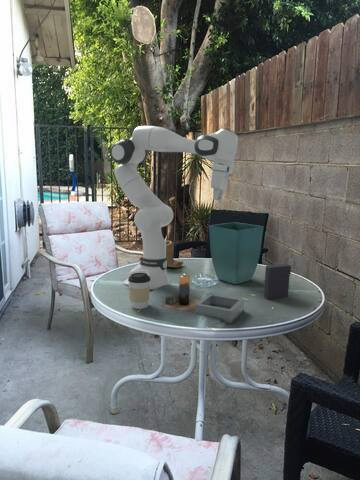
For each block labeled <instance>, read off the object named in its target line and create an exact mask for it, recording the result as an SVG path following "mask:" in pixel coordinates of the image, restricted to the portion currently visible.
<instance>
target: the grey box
mask: <svg viewBox="0 0 360 480" xmlns="http://www.w3.org/2000/svg"><path fill="white" fill-rule="evenodd" d="M291 269H292V265H289V264H287V263H282V264H269V265H266V266H265V274H264V276H265V277H264V291H263V292H264V295H263V298H264V299H266V300H267V301H269V300H277V299H285V298H289V290H290V289H289V288H290V277H291V276H290V275H291V271H292V270H291Z"/></svg>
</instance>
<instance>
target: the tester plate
mask: <svg viewBox="0 0 360 480" xmlns="http://www.w3.org/2000/svg"><path fill="white" fill-rule="evenodd" d="M201 300H202V299H195V298H190V299H189V305H180V304H179V291H174V292H172V293H170V294H169V295H167V296H165V302H164V304H162V305H161V307H165V308H170V309H175V310H178V311H184V312H188V313H189V312H190V313H193V312H195V304H197V303H198V302H200V301H201Z"/></svg>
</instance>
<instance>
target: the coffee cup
mask: <svg viewBox="0 0 360 480" xmlns="http://www.w3.org/2000/svg"><path fill="white" fill-rule="evenodd" d="M128 277H129V276H128ZM127 279H128V278H127ZM150 280H151V279H150V276H148V274H146V273H133V274H131V276H130V277H129V279H128V281H129V286H128V293H129V301H130V307H131V308H133V309H135V310H137V309H138V310H139V309H140V310H141V309H142V310H143V309H146V308H147V307H149V300H150V292H151V291H150Z"/></svg>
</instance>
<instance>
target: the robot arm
mask: <svg viewBox="0 0 360 480" xmlns="http://www.w3.org/2000/svg"><path fill="white" fill-rule="evenodd" d="M132 131H133V132H132V134H131V137H130V138H128V137H125V138H123V139H121V140H118V141H116V142H115V143H113V144H112V146H111V147H110V150H109V153H110V157H111V159H112V160H113V161H114V163H117V164H118V166H116V168H115V169H114V176H115V179H116V181H117V184H118V185H119V188H121V190H122V192H123V193H124V195H125V196H126V198H127V199H128V200H129V203H131V204H132V206H135V208H136V207H137V209H139V210H137V212H135V214H134V218H133V220H134V221H133V222H134V224H135V226H136V228H137V229H138V230H139V231H140V235H141V239H142V256H141V257H139V258H138V262H139V264H137V265H136V266H134V268H132V269H131V270H130V271H129V273H128V278H127V279H125V280H124V281H123V285H124V286H128V287H129V281H128V279H129V277H130V276H131V274H133V273H146V274H148V276H150V279H151V280H150V290H151V291H152V290H157V289H159V288H161V287H163V286H166V285H168V286H169V285H170V282H169V279H168V273H167V268H168V267H167V257H166V241H167V240H166V238H164V235H163V233H162V228H163V227H166V226H168V225H169V224H170V223H171V222H172V221H173V219H174V211H173V209H172V208H171V207H170V206H169V205H167V204H165V203H164V202H163V201H162V200H161V199H160V198H159V197H158V196H157V195H156V194H155V193H154V192H153V191H152V190H151V189H150V188H149V185H148V184H147V183H146V182H145V180H144V179H143V178H142V176H141V174H140V173H139V171H138V169H139V168H141V167H142V165H143V164H144V163H145V161H146V160H147V158H148V155H149V151H151V152H160V153H186V154H191V155H196V156H199V157H202V158H204V159H206V160H208V161H210V162H212V165H211V180H210V188H211V189H213V191H212V193H213V194H212V195H213V196H212V200H213V201H219V202H220V201H222V197H223V194H224V192H226V191H227V189H228V183H229V177H230V175H232V174H233V172H234V165H235V156H236V154H237V149H238V143H239V137H238V134H237V133H236V132H235V131H233V130H230V129H227V128H221V129H219V130H218V131H215V132H212V133H207V134H202V135H200V136H198V137H197V138H196V139H191V138H186V137H183V136H181V135H180V134H178V133H176V132H174V131H173V130H170V129H168V128H165V127H161V126H158V125H157V126H155V125H140V126H137V127H135V128H134V130H132Z"/></svg>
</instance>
